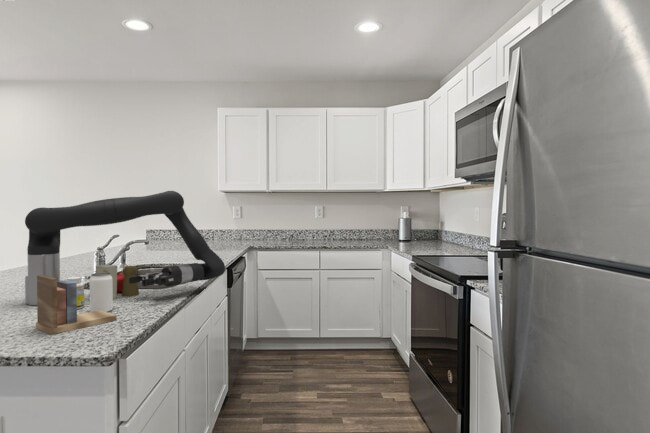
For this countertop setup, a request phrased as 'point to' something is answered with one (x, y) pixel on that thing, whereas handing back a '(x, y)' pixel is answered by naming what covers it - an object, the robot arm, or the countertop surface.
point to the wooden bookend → (63, 307)
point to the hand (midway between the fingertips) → (135, 281)
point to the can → (101, 292)
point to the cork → (127, 287)
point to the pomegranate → (120, 282)
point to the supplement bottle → (78, 291)
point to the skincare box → (113, 271)
